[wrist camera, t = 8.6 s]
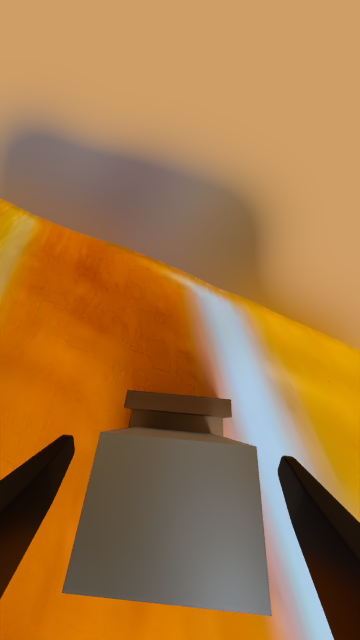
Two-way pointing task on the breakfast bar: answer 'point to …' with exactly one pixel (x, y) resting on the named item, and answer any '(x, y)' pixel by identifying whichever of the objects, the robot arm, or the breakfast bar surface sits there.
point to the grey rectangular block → (172, 523)
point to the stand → (177, 412)
